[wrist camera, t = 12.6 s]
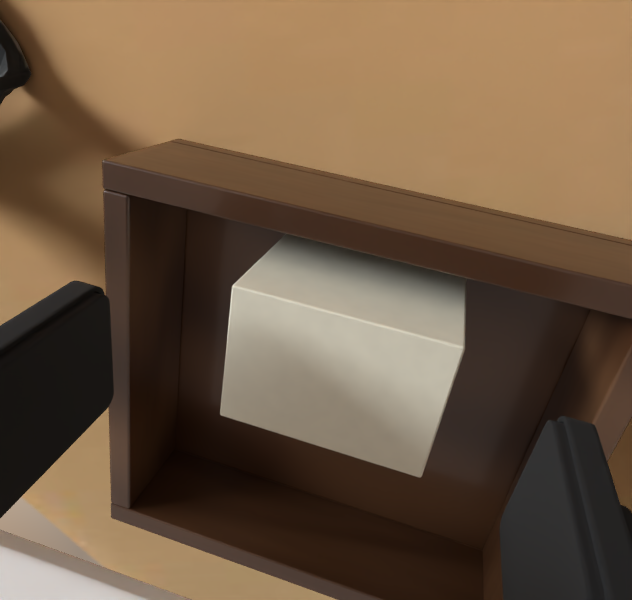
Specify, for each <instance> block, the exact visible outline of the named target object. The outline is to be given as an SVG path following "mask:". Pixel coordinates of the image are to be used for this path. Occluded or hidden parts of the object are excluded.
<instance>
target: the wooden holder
mask: <svg viewBox="0 0 632 600" xmlns="http://www.w3.org/2000/svg"><path fill="white" fill-rule="evenodd" d="M102 173H103V188H104V189H105V190H104V192H103V198H104V238H105V277H106V296H107V297H108V298H109V301H110V316H111V338H112V360H113V383H114V395H113V399H112V401H111V403H110V405H109V434H110V473H111V502H112V503H111V517H112V518H113V519H116V520H119V521H122V522H124V523H127V524H130V525H133V526H136V527H138V528H141V529H144V530H147V531H149V532H152V533H155V534H158V535H160V536H163V537H166V538H169V539H172V540H174V541H177V542H180V543H183V544H185V545H188V546H191V547H194V548H196V549H199V550H202V551H205V552H208V553H210V554H213V555H216V556H219V557H221V558H224V559H227V560H230V561H232V562H235V563H238V564H241V565H244V566H246V567H249V568H252V569H255V570H257V571H260V572H263V573H266V574H268V575H271V576H274V577H277V578H280V579H282V580H285V581H288V582H291V583H293V584H296V585H299V586H302V587H305V588H307V589H310V590H313V591H316V592H318V593H321V594H324V595H327V596H329V597H332V598H335V599H338V600H503V588H502V569H501V551H500V522H501V518H502V514H503V512H504V510H505V508H506V506H507V503H508V501H509V499H510V497H511V495H512V493H513V491H514V489H515V487H516V485H517V482H518V480H519V478H520V476H521V474H522V472H523V470H524V468H525V466H526V464H527V461H528V459H529V457H530V455H531V453H532V451H533V449H534V447H535V445H536V443H537V440H538V438H539V436H540V434H541V432H542V430H543V428H544V426H545V424H546V422H547V421H548V420H553V421H557V420H558V418H559V417H560V416H566V417H570V418H574V419H577V420H581V421H584V422H588V423H592V424H594V425H595V427H596V429H597V432H598V435H599V438H600V441H601V444H602V448H603V451H604V454H605V457H606V460H607V462H608V460H609V458H610V456H611V454H612V453H613V451H614V449H615V447H616V445H617V443H618V442H619V440H620V438H621V436H622V434H623V432H624V431H625V429H626V427H627V425H628V423H629V422H630V420H631V418H632V241H631V240H627V239H622V238H618V237H613V236H609V235H604V234H600V233H596V232H591V231H587V230H582V229H578V228H573V227H569V226H564V225H560V224H555V223H551V222H547V221H542V220H538V219H533V218H529V217H524V216H520V215H515V214H511V213H507V212H502V211H498V210H493V209H489V208H484V207H480V206H475V205H471V204H466V203H462V202H458V201H453V200H449V199H444V198H440V197H435V196H431V195H426V194H422V193H418V192H413V191H409V190H404V189H400V188H395V187H391V186H386V185H382V184H377V183H373V182H369V181H364V180H360V179H355V178H351V177H346V176H342V175H337V174H333V173H329V172H324V171H320V170H315V169H311V168H306V167H302V166H297V165H293V164H288V163H284V162H280V161H275V160H271V159H266V158H262V157H257V156H253V155H248V154H244V153H240V152H235V151H231V150H226V149H222V148H217V147H213V146H208V145H204V144H199V143H195V142H191V141H186V140H182V139H175V140H172V141H168V142H165V143H161V144H158V145H154V146H151V147H147V148H143V149H140V150H136V151H133V152H129V153H126V154H122V155H119V156H115V157H112V158H108V159H105V160H103V161H102ZM285 234H290V235H294V236H298V237H302V238H306V239H310V240H314V241H318V242H322V243H326V244H330V245H334V246H338V247H342V248H346V249H350V250H354V251H358V252H362V253H366V254H370V255H374V256H378V257H382V258H386V259H390V260H394V261H398V262H403V263H407V264H411V265H415V266H419V267H423V268H427V269H431V270H435V271H439V272H443V273H447V274H451V275H455V276H459V277H463V278H467V282H466V329H465V351H464V354H463V357H462V360H461V363H460V366H459V369H458V372H457V374H456V377H455V380H454V383H453V386H452V389H451V392H450V395H449V398H448V401H447V404H446V407H445V410H444V413H443V416H442V419H441V422H440V424H439V427H438V430H437V433H436V436H435V439H434V442H433V445H432V448H431V451H430V454H429V457H428V460H427V463H426V466H425V469H424V472H423V474H422V476H421V477H416V476H413V475H410V474H407V473H403V472H400V471H397V470H394V469H391V468H387V467H384V466H381V465H378V464H375V463H371V462H368V461H365V460H362V459H359V458H356V457H352V456H349V455H346V454H343V453H340V452H336V451H333V450H330V449H327V448H324V447H320V446H317V445H314V444H311V443H308V442H304V441H301V440H298V439H295V438H292V437H288V436H285V435H282V434H279V433H276V432H273V431H269V430H266V429H263V428H260V427H257V426H253V425H250V424H247V423H244V422H241V421H237V420H234V419H231V418H228V417H225V416H221V415H220V408H221V397H222V387H223V376H224V366H225V355H226V345H227V334H228V324H229V313H230V303H231V293H232V286H233V284H235V283H236V282H237V281H238V280H239V279H240V278H241V277H242V276H243V275H244V274H245V273H246V272H247V271H248V270H249V269H250V268H251V267H252V266H253V265H254V264H255V263H256V262H257V261H258V260H259V259H261V258H262V257H263V256H264V255H265V254H266V253H267V252H268V251H269V250H270V249H271V248H272V247H273V246H274V245H275V244H276V243H277V242H278V241H279V240H280V239H281V238H282V237H283V236H284V235H285Z"/></svg>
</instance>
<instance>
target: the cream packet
mask: <svg viewBox="0 0 632 600" xmlns="http://www.w3.org/2000/svg"><path fill="white" fill-rule="evenodd" d="M466 282H467V278H463V277H459V276H455V275H451V274H447V273H443V272H439V271H435V270H431V269H427V268H423V267H419V266H415V265H411V264H407V263H403V262H398V261H394V260H390V259H386V258H382V257H378V256H374V255H370V254H366V253H362V252H358V251H354V250H350V249H346V248H342V247H338V246H334V245H330V244H326V243H322V242H318V241H314V240H310V239H306V238H302V237H298V236H294V235H290V234H285V235H284V236H283V237H282V238H281V239H280V240H279V241H278V242H277V243H276V244H275V245H274V246H273V247H272V248H271V249H270V250H269V251H268V252H267V253H266V254H265V255H264V256H263V257H262V258H261V259H259V260H258V261H257V262H256V263H255V264H254V265H253V266H252V267H251V268H250V269H249V270H248V271H247V272H246V273H245V274H244V275H243V276H242V277H241V278H240V279H239V280H238V281H237V282H236V283H235V284H233V286H232V293H231V303H230V313H229V324H228V334H227V345H226V355H225V366H224V376H223V387H222V397H221V408H220V415H221V416H225V417H228V418H231V419H234V420H237V421H241V422H244V423H247V424H250V425H253V426H257V427H260V428H263V429H266V430H269V431H273V432H276V433H279V434H282V435H285V436H288V437H292V438H295V439H298V440H301V441H304V442H308V443H311V444H314V445H317V446H320V447H324V448H327V449H330V450H333V451H336V452H340V453H343V454H346V455H349V456H352V457H356V458H359V459H362V460H365V461H368V462H371V463H375V464H378V465H381V466H384V467H387V468H391V469H394V470H397V471H400V472H403V473H407V474H410V475H413V476H416V477H421V476H422V474H423V472H424V469H425V466H426V463H427V460H428V457H429V454H430V451H431V448H432V445H433V442H434V439H435V436H436V433H437V430H438V427H439V424H440V422H441V419H442V416H443V413H444V410H445V407H446V404H447V401H448V398H449V395H450V392H451V389H452V386H453V383H454V380H455V377H456V374H457V372H458V369H459V366H460V363H461V360H462V357H463V354H464V351H465V329H466Z"/></svg>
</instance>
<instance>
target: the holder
mask: <svg viewBox="0 0 632 600" xmlns="http://www.w3.org/2000/svg"><path fill="white" fill-rule="evenodd" d="M30 76H31V71H30V69H29V67H28V64H27V62H26V60H25V58H24V55H23V53H22V51H21V49H20V46H19V44H18V42H17V41H16V39H15V38H14V37H13V35H12V34H11V33H10V31H9V30H8V29H7V27H6V26H5V25H4V23H3V22H2V21H1V20H0V104H1V103H2V101H3V99H4V98H5V96H7V95H9V94H10V93H11V92H12V91H13V89H15V88H18V87H20V86H23V85H24V84H25V83H26V82H27V81H28V79H29V78H30Z"/></svg>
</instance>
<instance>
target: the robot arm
mask: <svg viewBox="0 0 632 600" xmlns="http://www.w3.org/2000/svg"><path fill="white" fill-rule="evenodd" d="M113 395H114V383H113V360H112V338H111V316H110V301H109V298H108V297H107V296H105V295H104V291H103V289H102V288H100V287H98V286H94V285H90V284H87V283H83V282H80V281H73V282H70V283H68V284H67V285H65V286H64V287H62V288H60V289H59V290H57V291H56V292H54V293H52V294H51V295H49V296H48V297H46V298H44V299H43V300H41V301H39V302H38V303H36V304H35V305H33V306H31V307H30V308H28V309H27V310H25V311H23V312H22V313H20V314H19V315H17V316H15V317H14V318H12V319H10V320H9V321H7V322H6V323H4V324H2V325H1V326H0V518H1V517H2V516H3V515H4V514H5V513H6V512H7V511H8V510H9V509H10V508H11V507H12V506H13V505H14V504H15V502H17V501H18V499H19V498H20V497H21V496H22V495H23V494H24V493H25V492H26V491H27V490H28V489H29V488H30V487H31V486H32V485H33V484H34V483H35V482H36V481H37V480H38V479H39V478H40V477H41V476H42V475H43V474H44V473H45V472H46V471H47V470H48V469H49V468H50V467H51V466H52V465H53V464H54V462H55V461H56V460H57V459H58V458H59V457H60V456H61V455H62V454H63V453H64V452H65V451H66V450H67V449H68V448H69V447H70V446H71V445H72V444H73V443H74V442H75V441H76V440H77V439H78V438H79V437H80V436H81V435H82V434H83V433H84V432H85V431H86V430H87V429H88V428H89V426H90V425H91V424H92V423H93V422H94V421H95V420H96V419H97V418H98V417H99V416H100V415H101V414H102V413H103V412H104V411H105V410H106V409H107V408H108V407H109V405H110V403H111V401H112V399H113ZM500 551H501V569H502V588H503V600H632V513H631V511H630V510H629V509H628V508H627V507H626V506H622V505H620V502H619V499H618V495H617V492H616V489H615V486H614V483H613V479H612V476H611V473H610V470H609V467H608V464H607V460H606V457H605V454H604V451H603V448H602V444H601V441H600V438H599V435H598V432H597V429H596V427H595V425H594V424H592V423H588V422H584V421H581V420H577V419H574V418H570V417H566V416H560V417H559V418H558V420H557V421H553V420H548V421H547V422H546V424H545V426H544V428H543V430H542V432H541V434H540V436H539V438H538V440H537V443H536V445H535V447H534V449H533V451H532V453H531V455H530V457H529V459H528V461H527V464H526V466H525V468H524V470H523V472H522V474H521V476H520V478H519V480H518V482H517V485H516V487H515V489H514V491H513V493H512V495H511V497H510V499H509V501H508V503H507V506H506V508H505V510H504V512H503V514H502V518H501V522H500ZM0 600H191V599H188V598H185V597H183V596H180V595H177V594H175V593H172V592H169V591H167V590H164V589H161V588H158V587H156V586H153V585H150V584H148V583H145V582H142V581H139V580H137V579H134V578H131V577H129V576H126V575H123V574H120V573H118V572H115V571H112V570H110V569H107V568H104V567H101V566H99V565H96V564H93V563H91V562H88V561H85V560H82V559H80V558H77V557H74V556H71V555H69V554H66V553H63V552H60V551H58V550H55V549H52V548H49V547H46V546H44V545H41V544H38V543H35V542H33V541H30V540H27V539H24V538H22V537H19V536H16V535H13V534H11V533H8V532H5V531H2V530H0Z"/></svg>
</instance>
